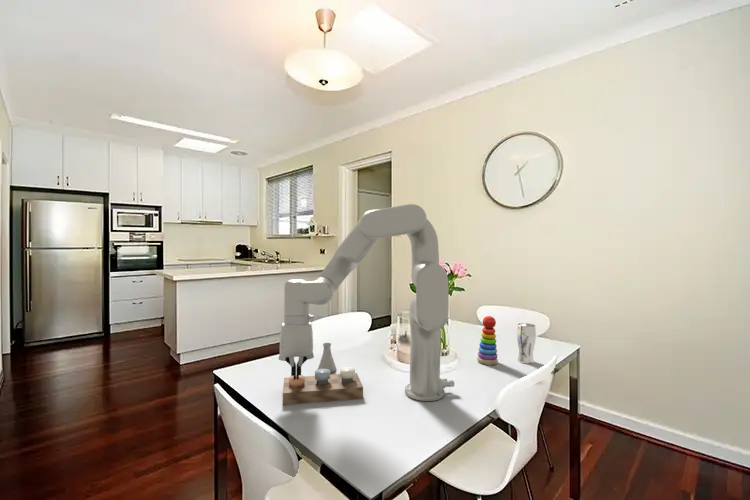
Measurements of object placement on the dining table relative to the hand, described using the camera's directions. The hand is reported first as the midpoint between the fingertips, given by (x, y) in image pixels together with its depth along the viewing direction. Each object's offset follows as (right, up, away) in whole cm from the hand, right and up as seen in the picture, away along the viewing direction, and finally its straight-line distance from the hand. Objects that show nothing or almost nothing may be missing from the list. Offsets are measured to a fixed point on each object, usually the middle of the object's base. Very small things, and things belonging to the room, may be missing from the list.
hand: (296, 377), depth 112 cm
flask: (+7, -5, +22) cm, 24 cm away
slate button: (+8, -4, +2) cm, 9 cm away
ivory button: (+16, -4, +3) cm, 17 cm away
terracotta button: (0, -6, 0) cm, 6 cm away
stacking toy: (+70, -6, +33) cm, 77 cm away
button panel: (+8, -6, +2) cm, 10 cm away
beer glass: (+86, -6, +34) cm, 93 cm away
